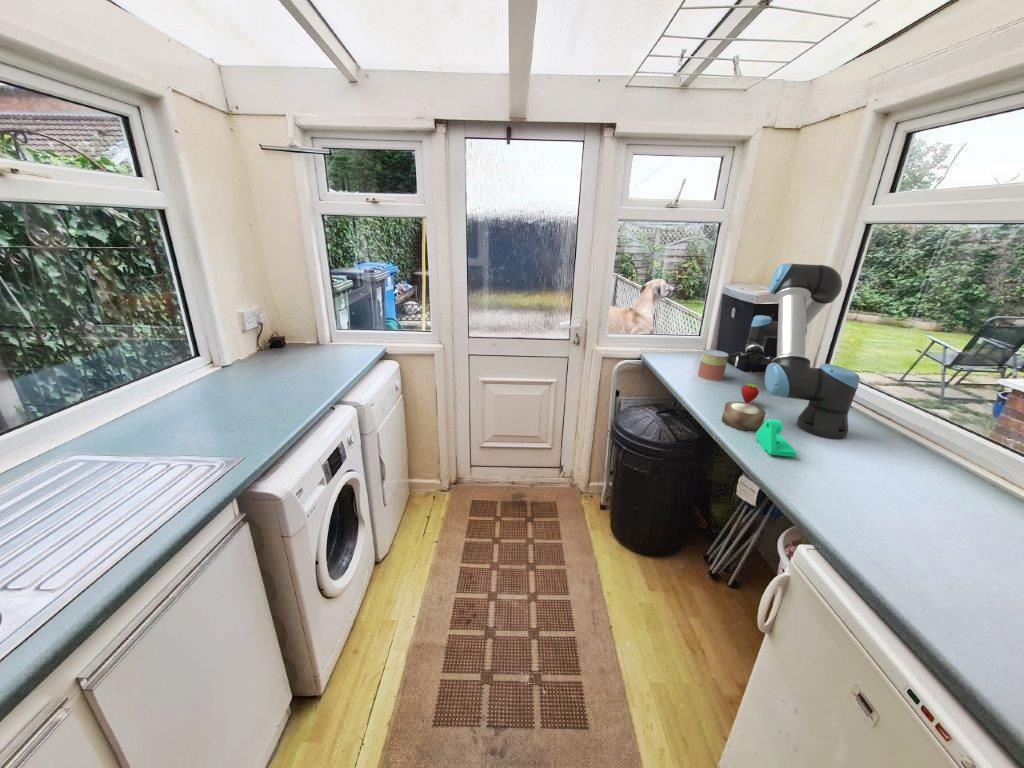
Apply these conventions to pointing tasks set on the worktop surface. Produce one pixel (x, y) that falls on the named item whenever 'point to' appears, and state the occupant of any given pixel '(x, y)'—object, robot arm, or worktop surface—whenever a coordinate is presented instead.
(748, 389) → the strawberry
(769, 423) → the camera mount
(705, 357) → the canned food
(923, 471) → the worktop surface
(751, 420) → the bronze puck
